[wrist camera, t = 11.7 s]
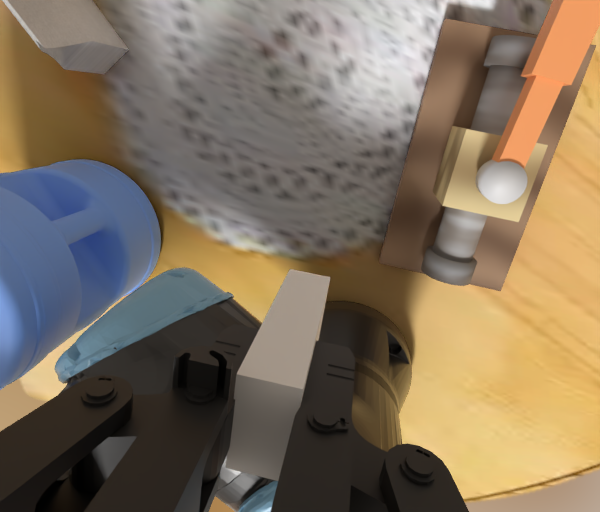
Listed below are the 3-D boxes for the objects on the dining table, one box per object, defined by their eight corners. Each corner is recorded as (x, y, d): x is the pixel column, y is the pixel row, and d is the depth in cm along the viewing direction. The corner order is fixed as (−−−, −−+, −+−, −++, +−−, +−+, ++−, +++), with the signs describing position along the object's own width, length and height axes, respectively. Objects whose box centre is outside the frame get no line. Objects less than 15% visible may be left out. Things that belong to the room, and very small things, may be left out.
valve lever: (506, 203, 33) (515, 209, 31) (468, 191, 33) (474, 197, 31) (597, 7, 28) (615, -1, 26) (551, -5, 28) (566, -14, 26)
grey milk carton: (82, -14, 40) (-5, -51, 31) (129, 49, 42) (59, 33, 32) (57, 13, 41) (-34, -14, 32) (104, 74, 43) (29, 65, 33)
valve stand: (496, 285, 43) (523, 324, 36) (379, 258, 44) (380, 290, 37) (587, 47, 36) (647, 31, 28) (442, 21, 37) (462, -1, 29)
